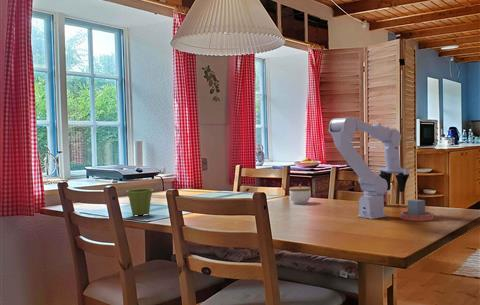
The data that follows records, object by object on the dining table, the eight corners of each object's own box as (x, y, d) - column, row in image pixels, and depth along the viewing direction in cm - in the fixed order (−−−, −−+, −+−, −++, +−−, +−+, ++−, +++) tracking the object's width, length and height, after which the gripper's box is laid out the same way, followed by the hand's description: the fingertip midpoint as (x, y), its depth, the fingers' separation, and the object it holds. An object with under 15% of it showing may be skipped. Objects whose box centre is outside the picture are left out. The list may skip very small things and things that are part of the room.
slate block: (417, 217, 177) (417, 201, 177) (407, 215, 181) (407, 200, 181) (425, 215, 180) (424, 200, 180) (415, 214, 184) (415, 199, 183)
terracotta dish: (418, 222, 172) (418, 216, 172) (393, 218, 183) (393, 212, 183) (440, 218, 178) (439, 213, 178) (414, 214, 189) (414, 209, 189)
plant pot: (136, 212, 215) (135, 188, 215) (158, 213, 211) (158, 188, 211) (121, 217, 204) (120, 191, 204) (145, 217, 200) (144, 191, 200)
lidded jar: (286, 202, 235) (286, 183, 235) (307, 201, 237) (306, 183, 237) (293, 205, 225) (292, 185, 225) (314, 204, 227) (313, 184, 226)
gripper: (413, 157, 187) (415, 190, 188) (386, 156, 200) (388, 187, 201) (400, 159, 184) (403, 193, 184) (374, 158, 196) (376, 190, 197)
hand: (394, 190), depth 192 cm, fingers open, 7 cm apart
